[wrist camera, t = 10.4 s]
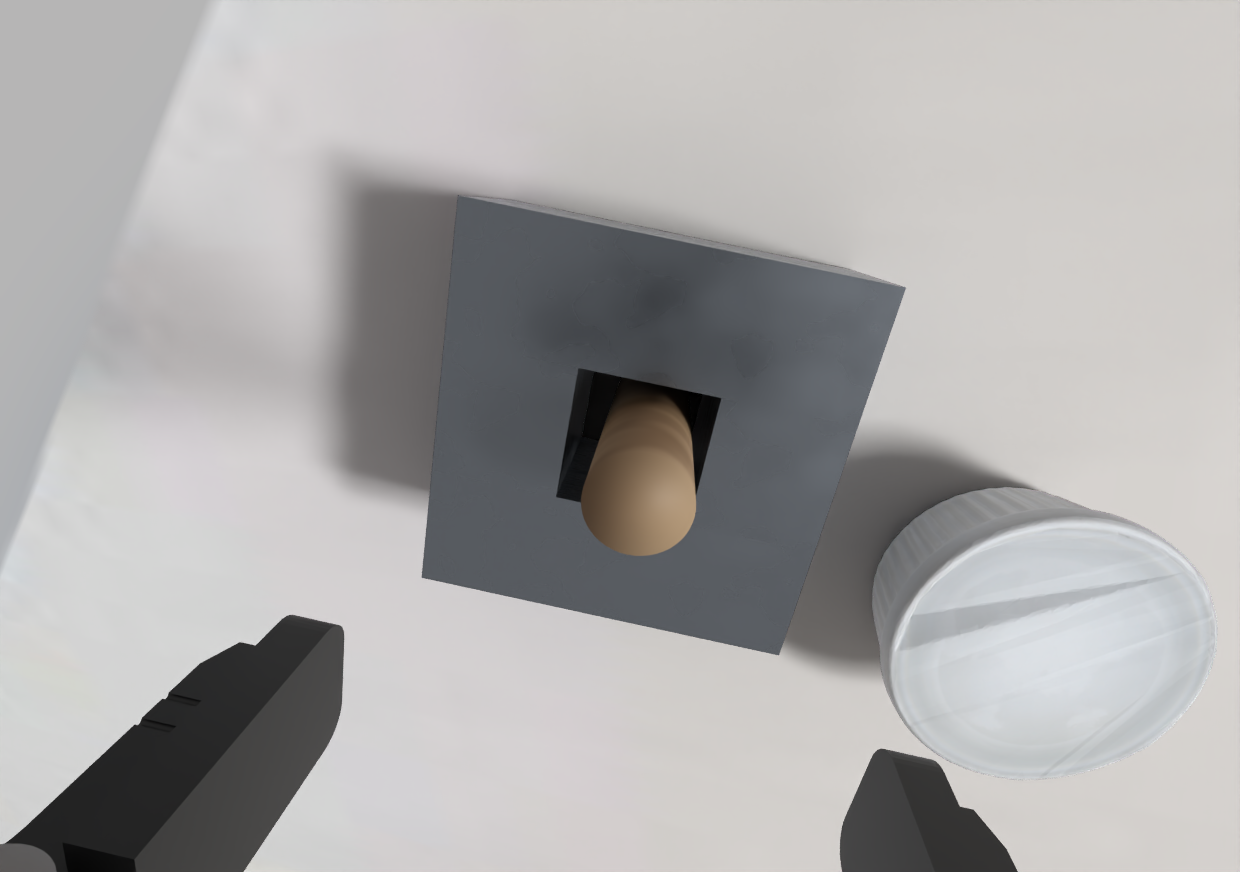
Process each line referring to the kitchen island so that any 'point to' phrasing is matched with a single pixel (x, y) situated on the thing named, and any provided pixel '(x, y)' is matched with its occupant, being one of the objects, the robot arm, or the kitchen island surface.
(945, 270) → the kitchen island surface
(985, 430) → the kitchen island surface
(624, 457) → the walnut peg
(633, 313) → the hole block
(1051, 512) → the ramekin
